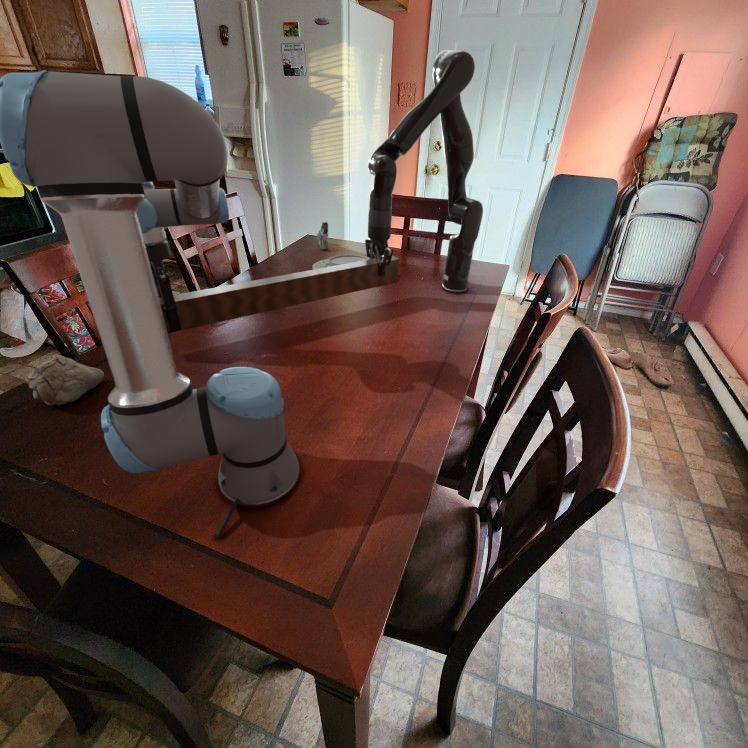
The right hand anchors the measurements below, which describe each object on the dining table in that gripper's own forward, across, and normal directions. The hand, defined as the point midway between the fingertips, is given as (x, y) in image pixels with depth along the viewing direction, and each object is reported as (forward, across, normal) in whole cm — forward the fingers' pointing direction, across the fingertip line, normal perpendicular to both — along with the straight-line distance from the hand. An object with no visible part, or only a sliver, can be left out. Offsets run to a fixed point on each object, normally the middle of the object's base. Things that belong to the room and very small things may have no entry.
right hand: (377, 273), depth 143 cm
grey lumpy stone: (+10, -8, +94) cm, 95 cm away
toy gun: (+11, +61, -10) cm, 63 cm away
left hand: (+3, 0, +67) cm, 67 cm away
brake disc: (+11, +30, -6) cm, 32 cm away
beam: (+4, 0, +34) cm, 34 cm away
